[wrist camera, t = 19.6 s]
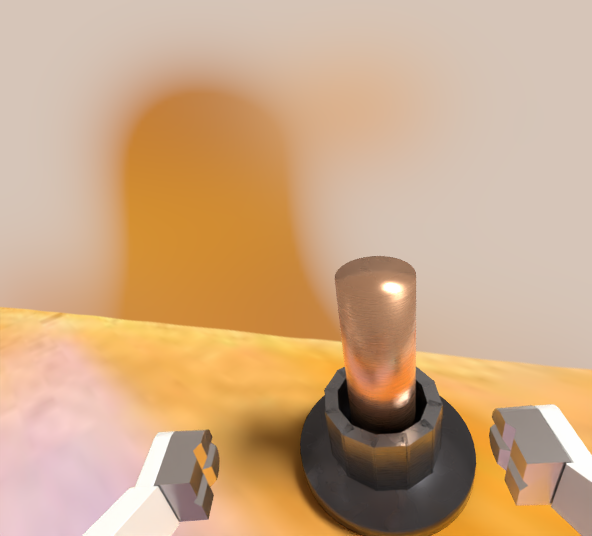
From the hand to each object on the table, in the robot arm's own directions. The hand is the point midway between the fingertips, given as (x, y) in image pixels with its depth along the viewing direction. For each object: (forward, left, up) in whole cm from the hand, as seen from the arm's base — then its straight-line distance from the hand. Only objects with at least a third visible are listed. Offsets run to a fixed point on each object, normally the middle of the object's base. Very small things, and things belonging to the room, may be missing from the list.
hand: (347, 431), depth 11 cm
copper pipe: (+2, +14, -19) cm, 23 cm away
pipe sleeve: (+2, +14, -20) cm, 25 cm away
